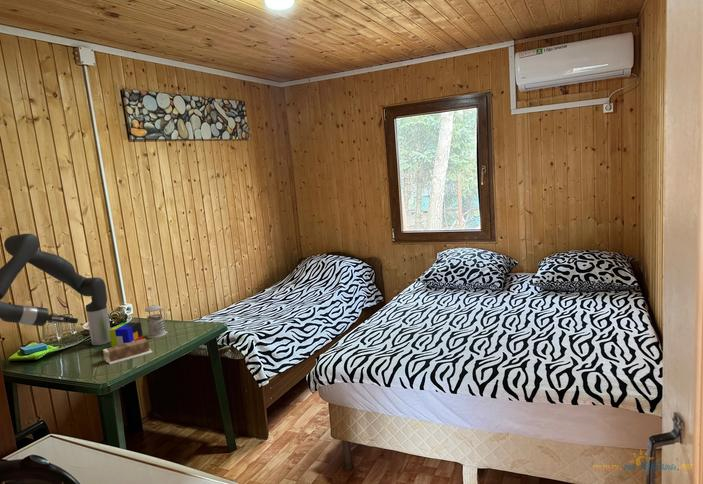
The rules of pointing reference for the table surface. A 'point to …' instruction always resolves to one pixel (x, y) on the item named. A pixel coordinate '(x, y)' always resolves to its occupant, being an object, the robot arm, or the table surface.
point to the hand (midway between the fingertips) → (77, 321)
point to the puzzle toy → (125, 333)
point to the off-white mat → (130, 357)
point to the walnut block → (125, 350)
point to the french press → (153, 329)
